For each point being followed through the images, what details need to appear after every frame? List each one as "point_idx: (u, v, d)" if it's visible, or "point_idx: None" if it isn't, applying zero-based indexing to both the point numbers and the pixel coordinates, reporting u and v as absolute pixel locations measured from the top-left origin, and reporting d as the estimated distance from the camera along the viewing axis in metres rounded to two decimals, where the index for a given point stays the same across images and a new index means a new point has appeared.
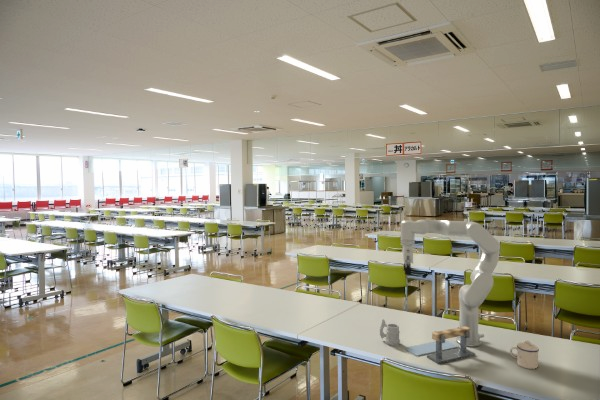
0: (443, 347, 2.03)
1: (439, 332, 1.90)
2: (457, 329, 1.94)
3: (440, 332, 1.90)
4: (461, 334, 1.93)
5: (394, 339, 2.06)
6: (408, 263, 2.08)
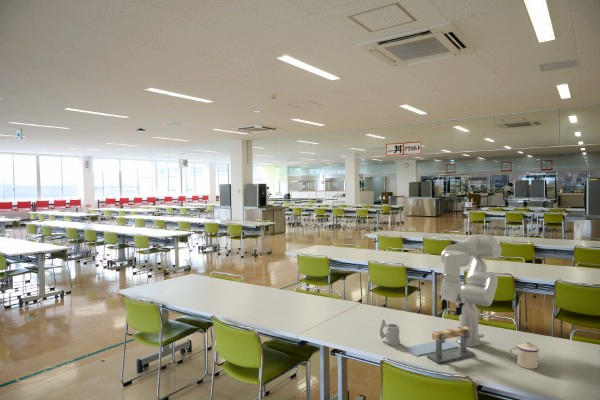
0: (443, 347, 2.03)
1: (439, 332, 1.90)
2: (457, 329, 1.94)
3: (440, 332, 1.90)
4: (461, 334, 1.93)
5: (394, 339, 2.06)
6: None
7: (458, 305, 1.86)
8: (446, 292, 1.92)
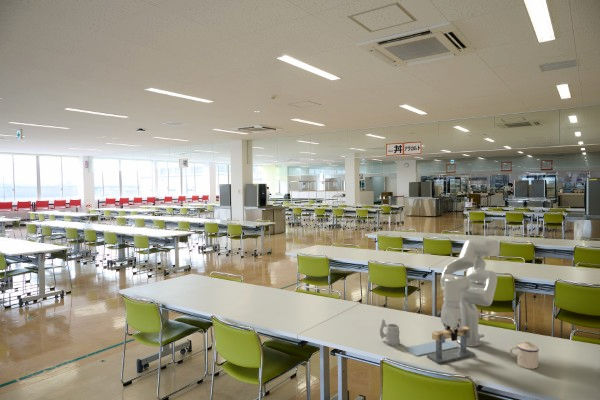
0: (443, 347, 2.03)
1: (439, 332, 1.90)
2: None
3: (440, 332, 1.90)
4: (461, 334, 1.93)
5: (394, 339, 2.06)
6: None
7: (454, 332, 1.89)
8: (446, 317, 1.92)
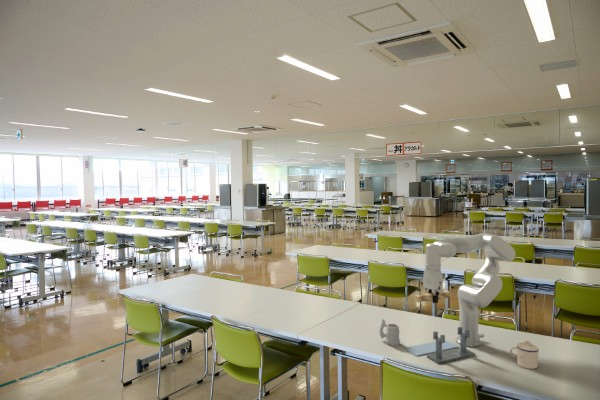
0: (443, 347, 2.03)
1: (421, 295, 1.99)
2: None
3: (422, 295, 1.99)
4: (442, 297, 2.03)
5: (394, 339, 2.06)
6: None
7: (435, 294, 1.99)
8: (428, 281, 2.01)
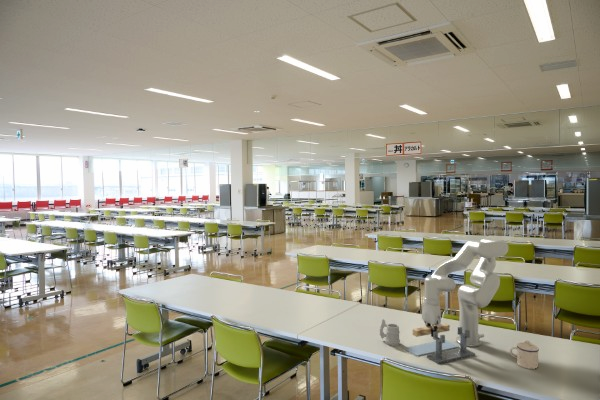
0: (443, 347, 2.03)
1: (419, 329, 2.00)
2: None
3: (420, 329, 2.00)
4: (440, 331, 2.04)
5: (394, 339, 2.06)
6: None
7: (433, 328, 2.00)
8: (426, 314, 2.02)
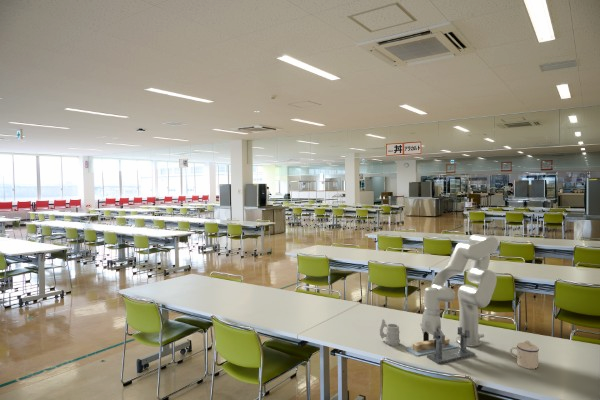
0: (443, 347, 2.03)
1: (419, 343, 2.01)
2: None
3: (420, 343, 2.01)
4: None
5: (394, 339, 2.06)
6: None
7: None
8: (426, 324, 2.03)
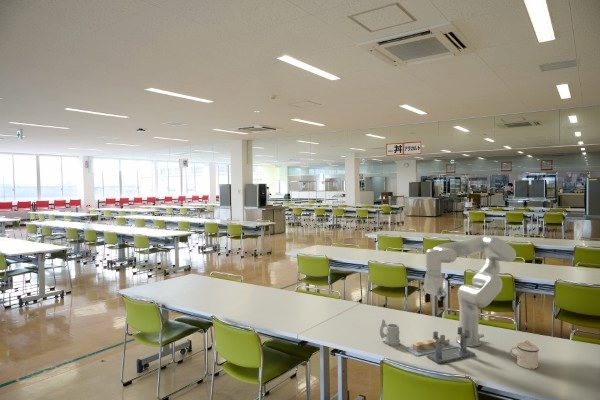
0: (443, 347, 2.03)
1: (419, 343, 2.01)
2: None
3: (420, 343, 2.01)
4: None
5: (394, 339, 2.06)
6: None
7: (439, 298, 1.96)
8: (428, 286, 2.02)
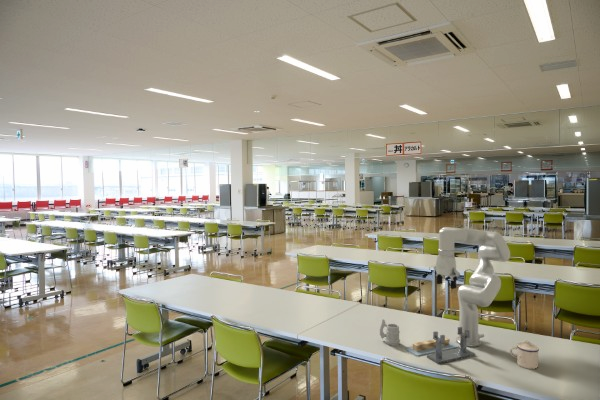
0: (443, 347, 2.03)
1: (419, 343, 2.01)
2: None
3: (420, 343, 2.01)
4: None
5: (394, 339, 2.06)
6: None
7: (452, 279, 1.92)
8: (441, 267, 1.98)
